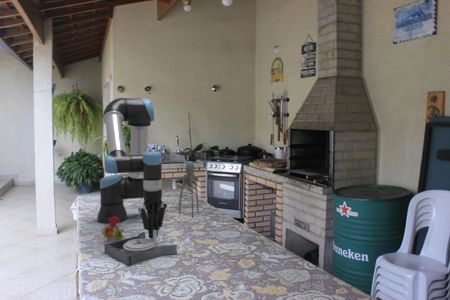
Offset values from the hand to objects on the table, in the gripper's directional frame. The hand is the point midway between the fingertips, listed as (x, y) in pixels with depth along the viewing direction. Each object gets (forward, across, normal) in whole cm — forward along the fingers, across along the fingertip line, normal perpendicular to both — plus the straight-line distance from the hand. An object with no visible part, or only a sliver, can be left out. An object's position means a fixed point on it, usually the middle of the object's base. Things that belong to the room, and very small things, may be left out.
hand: (153, 244), depth 158 cm
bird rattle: (+2, -6, +21) cm, 22 cm away
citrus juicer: (+2, +44, +31) cm, 54 cm away
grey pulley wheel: (+2, -7, 0) cm, 7 cm away
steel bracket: (+1, -7, 0) cm, 7 cm away
